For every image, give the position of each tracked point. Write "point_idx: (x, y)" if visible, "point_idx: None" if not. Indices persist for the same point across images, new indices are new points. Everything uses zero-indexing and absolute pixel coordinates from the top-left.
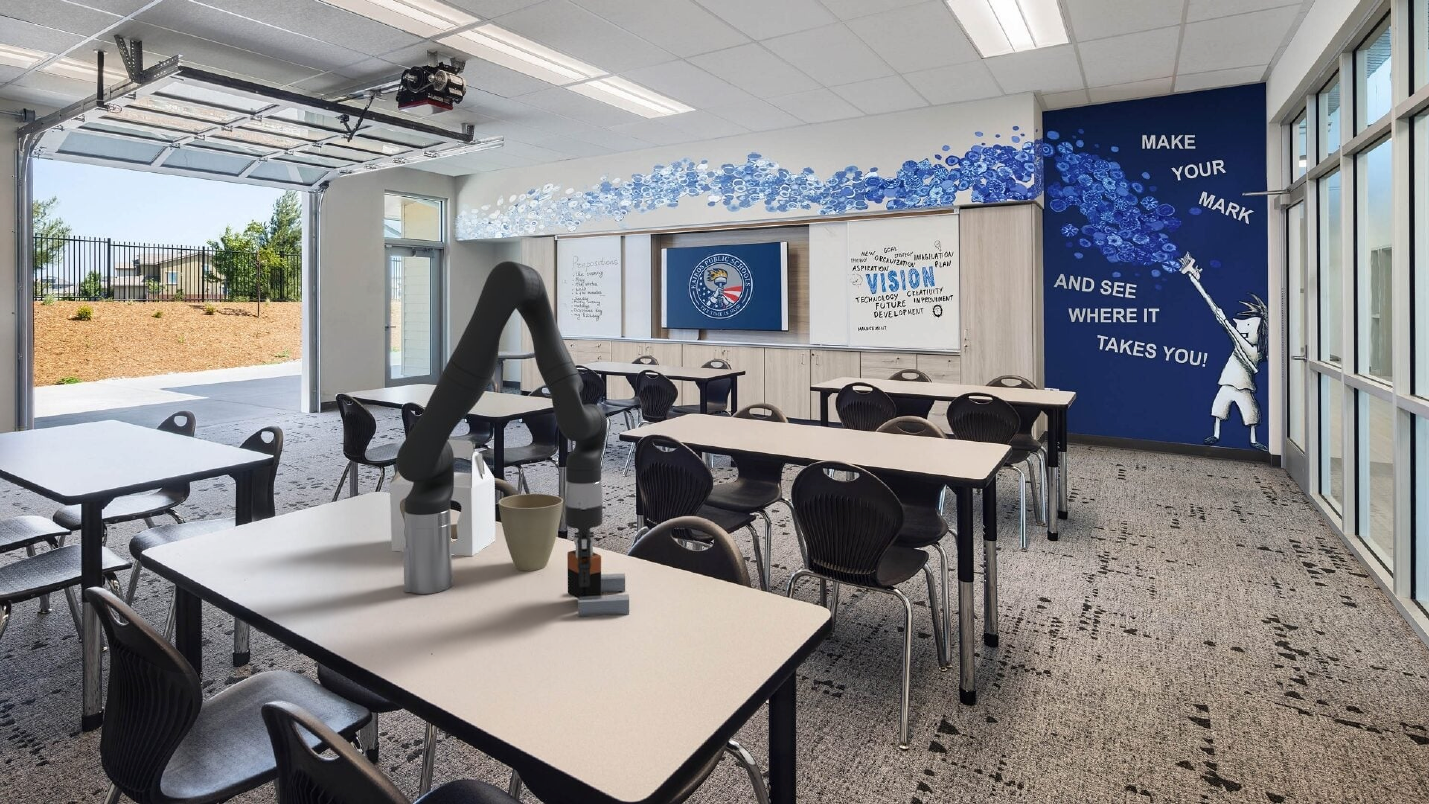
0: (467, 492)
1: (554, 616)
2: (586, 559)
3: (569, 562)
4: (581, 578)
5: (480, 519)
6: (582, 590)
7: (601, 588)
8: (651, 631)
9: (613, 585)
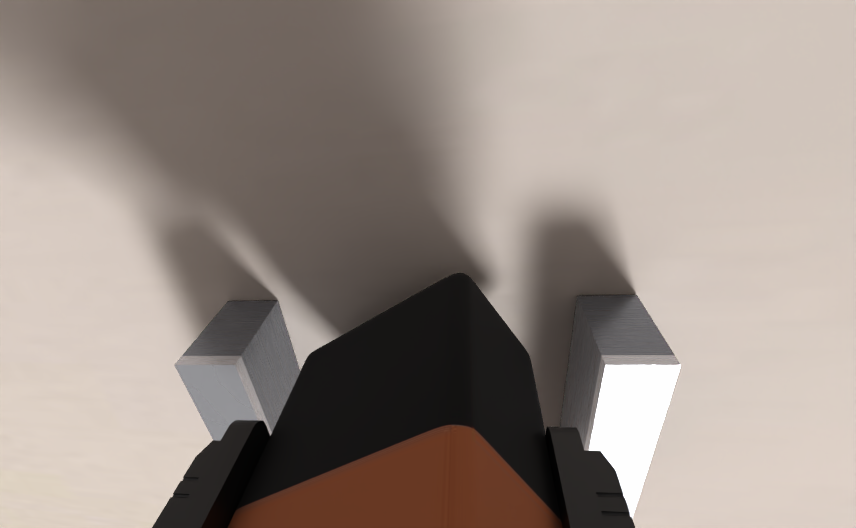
0: None
1: (213, 182)
2: None
3: (400, 511)
4: (175, 494)
5: None
6: (291, 399)
7: (569, 412)
8: (156, 497)
9: None
